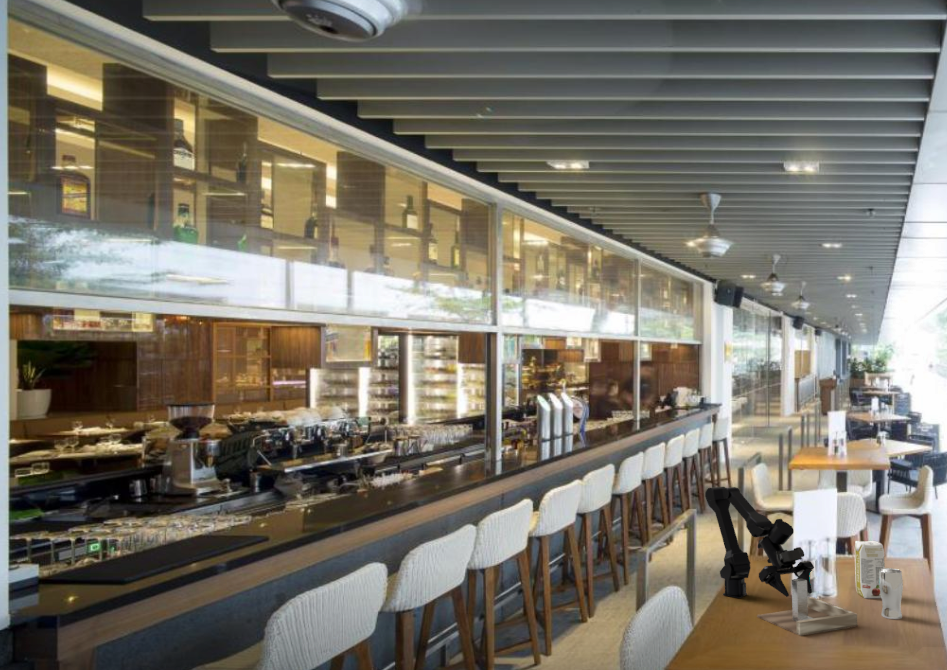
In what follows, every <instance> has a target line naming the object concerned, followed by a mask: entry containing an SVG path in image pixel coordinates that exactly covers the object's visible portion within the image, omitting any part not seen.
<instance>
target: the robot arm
mask: <svg viewBox="0 0 947 670" xmlns="http://www.w3.org/2000/svg"><path fill="white" fill-rule="evenodd" d="M704 495H705V499H706V501H707V504H708V506H709V507H710V509H711V510H713V512H714V514H715V516H716V521H717V524H718V528H719V531H720V534H721V535H720V536H721V539H722V542H723V546H724V549H725V554H724V558H723V563H724V566H723V567H722V568H721V570H719V575H720V578H722V579H723V580H724V593H722V596H725V597H730V598H731V597H732V598H736V599H741V598H743V597H745V596H746V595H748V593H747V583H746V582H745V579H748V578H749V577H750V576H749V575H750V572H751V561H750V558H749V554H748V553H747V551H743V550H742V549H741V547H740V545H739V541H738V538H737V534H736V531H735V527H734V523H733V520H732V515H731V513H730V506H731V505H732V506H733V507H734V509H735V510H736V511H737V512H738V513H739V515H740V516H741V517H742V518H743V520H744V521H745V523H746V525H745V526H746V527H745V528H746V529H747V530H748V532H749V533H750V535H751V537H753V538H762V539H759V540H758V543H757V549H763V551H764V553H765V554H766V556H767V558H768V559H767V560H766V562H767V563H768V564H771V565H767V566H766V565H765V566H764V567H763V568H762V569H761V571H760V572H759V573H758V578H759V580H760V582H761V583H765V584H766V585H769V586H771V587H773V588H774V589H775V590H777V591H778V592H780V594H782V595H783V596H785V597H786V598H789V597H790V594H789V592H788V589H787V588H786V586H785V584H784V582H783V580H782V575H790V574H794V575H795V577H797V578H796V579H800V578H802V579H805V580H807V594H809V595H810V594H812V593H813V591H812V585H811V584H810V577H809V575H810V572H811V571H813V570H814V569H815V566H814V564H813V562H812V561H809V560H806V561H805V560H804V561H802V560H803V557H805V552H804V550H803V548H802V547H801V546H799V547H797V546H796V547H795V548H793V549H792V550H787V549H784V548H783V547H782V545H785V543H787V541H789V539H790V538H791V537H792V535H794V528H793V527H792V525H791V524H789V523H788V522H786V521H783V519H782V518H777V519H775V520H774V522H772V521H771V520H770V519H769V518H768V517H767V516H766V515H764V514H762V513H759V512H758V511H757V510H756V509H755V508H754V507H753V506H752V504H751V503H750V502H749V501H748V500H747V499H746V498H745V496H744V495H743V494H742V493H741V490H740V489H739V488H738V487H736V486H732V487H731V486H730V487H725V486H715V487H714V486H713V487H709V488H708V487H707V489H706V491H705V494H704ZM799 560H800V561H799ZM797 561H799V562H798V564H797V565H796V563H797ZM794 565H796V566H794Z"/></svg>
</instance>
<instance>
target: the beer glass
mask: <svg viewBox="0 0 947 670" xmlns="http://www.w3.org/2000/svg"><path fill="white" fill-rule="evenodd" d="M903 581H904V580H903V572H902V570H901V569H897V568H892V567H885V568H881V569H879V588H880V593H881V598H880V599H881V601H882V602H881V603H882V609H881V614H880V615H881V617H883V618H884V619H889V620H902V619H903V615H902V609H901V608H902V607H901V604H902V603H901V602H902V598H903V597H902V596H903V591H904V590H903V589H904V587H903V586H904V583H903Z"/></svg>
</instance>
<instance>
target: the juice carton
mask: <svg viewBox="0 0 947 670" xmlns="http://www.w3.org/2000/svg"><path fill="white" fill-rule="evenodd" d="M885 565H886V564H885V550H884V545H883V544H882V543H881V542H880V541H876V540H868V541H865V540H864V541H863V540H855V542H854V568H855V569H854V572H855V575H854V576H855V590H856V593H857V594H858V595H859V596H860V597H862V598H863V599H882V598H881V593H880V588H879V569H881V568H886V566H885Z"/></svg>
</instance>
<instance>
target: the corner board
mask: <svg viewBox="0 0 947 670" xmlns="http://www.w3.org/2000/svg"><path fill="white" fill-rule="evenodd" d="M807 597H808V616H809V617H811V618H814V619H808V620H801V621H793V614H792V609H789V610H781V611H776V612H774V611H773V612H770V613H769V612H768V613H763V614H756V617H757V618H758V619H761V620H763V621H766V622H768V623H771V624H773V625H774V626H777V627H779V628H781V629H783V630H787V632H788V631H789V632H790V633H793V634H795V635H798V636H799V635H800V636H799V637H801V636H808V635H812V634H813V635H814V634H820V633H825V632H831V631H839V630H845V629H849V628H850V627H851V628H856V626H857V627H858V613H856V612H854V611H851V610H848V609H846V608H842V607H840V606H837V605H834V604H831V603H829V602H826V601H824V600H821V599H818V598H815V597H813V596H807Z"/></svg>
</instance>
